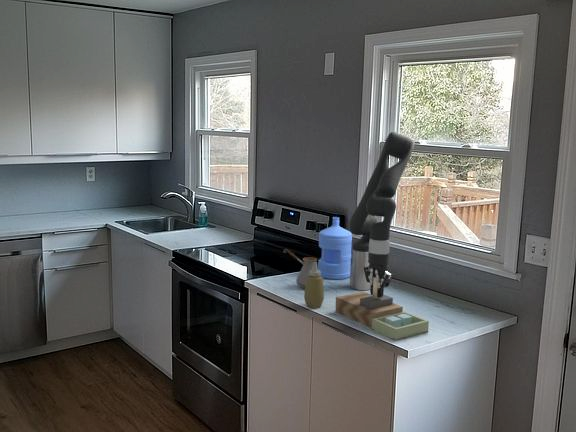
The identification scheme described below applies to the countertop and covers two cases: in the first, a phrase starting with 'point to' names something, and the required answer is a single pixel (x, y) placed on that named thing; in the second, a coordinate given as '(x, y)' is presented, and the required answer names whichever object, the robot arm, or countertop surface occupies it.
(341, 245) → the water jug
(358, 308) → the flat wooden board
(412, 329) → the bin
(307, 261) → the coffee pot
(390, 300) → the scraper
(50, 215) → the countertop surface
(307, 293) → the squeeze bottle
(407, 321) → the light blue block
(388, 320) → the pale blue cube
